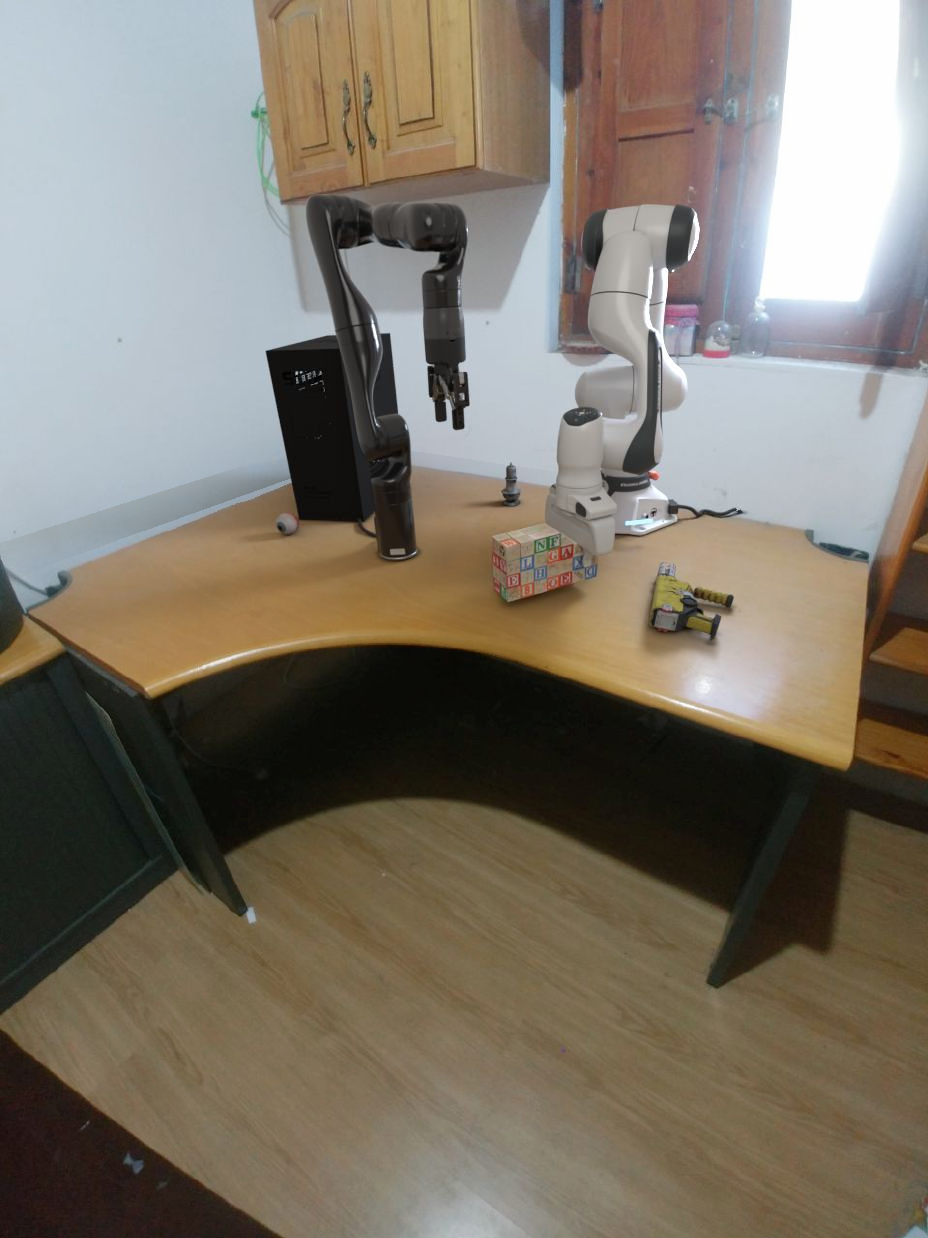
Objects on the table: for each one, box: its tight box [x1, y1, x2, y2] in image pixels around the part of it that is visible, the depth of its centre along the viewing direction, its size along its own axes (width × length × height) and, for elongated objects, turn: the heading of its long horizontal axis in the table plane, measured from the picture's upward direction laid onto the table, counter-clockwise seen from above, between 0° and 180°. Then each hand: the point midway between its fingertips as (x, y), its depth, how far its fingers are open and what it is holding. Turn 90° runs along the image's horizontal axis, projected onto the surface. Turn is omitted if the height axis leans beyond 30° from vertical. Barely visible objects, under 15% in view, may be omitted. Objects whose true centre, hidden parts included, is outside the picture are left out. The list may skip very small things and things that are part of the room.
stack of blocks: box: [491, 522, 599, 603], centre depth 123 cm, size 21×6×12 cm, turn 114°
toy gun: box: [648, 561, 735, 640], centre depth 118 cm, size 5×24×15 cm
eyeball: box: [275, 511, 300, 536], centre depth 163 cm, size 6×6×6 cm
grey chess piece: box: [501, 462, 522, 507], centre depth 175 cm, size 6×6×12 cm
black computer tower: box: [265, 332, 399, 522], centre depth 177 cm, size 38×20×45 cm, turn 167°
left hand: (449, 425), depth 118 cm, fingers open, 8 cm apart
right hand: (575, 558), depth 126 cm, fingers closed on stack of blocks, 6 cm apart
